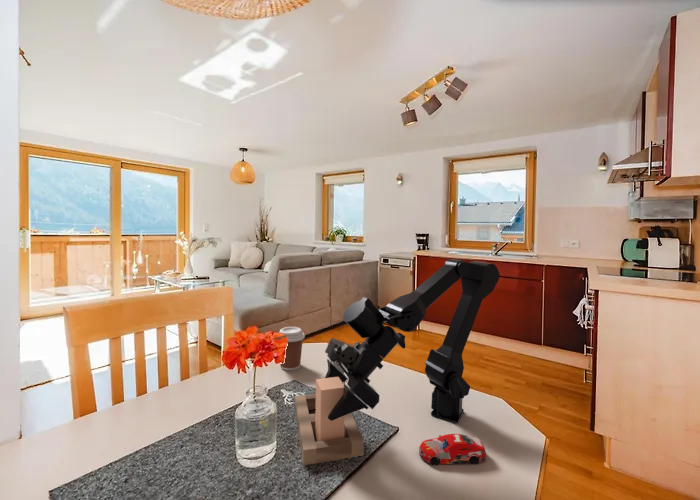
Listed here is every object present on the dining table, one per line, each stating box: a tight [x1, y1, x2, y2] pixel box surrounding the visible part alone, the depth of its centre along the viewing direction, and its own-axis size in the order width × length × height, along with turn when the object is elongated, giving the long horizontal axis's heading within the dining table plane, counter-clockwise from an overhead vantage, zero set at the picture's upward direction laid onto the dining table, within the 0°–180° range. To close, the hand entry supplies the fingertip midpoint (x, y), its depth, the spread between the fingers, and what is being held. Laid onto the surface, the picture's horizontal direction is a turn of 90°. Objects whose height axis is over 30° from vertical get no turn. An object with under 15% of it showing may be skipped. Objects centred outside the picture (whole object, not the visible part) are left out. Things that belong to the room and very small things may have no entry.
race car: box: [418, 433, 487, 466], centre depth 67 cm, size 13×5×4 cm, turn 92°
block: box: [314, 377, 345, 442], centre depth 71 cm, size 5×5×13 cm
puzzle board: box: [294, 393, 365, 466], centre depth 76 cm, size 21×12×3 cm, turn 14°
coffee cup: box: [278, 326, 306, 371], centre depth 109 cm, size 9×9×12 cm
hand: (323, 407), depth 70 cm, fingers open, 9 cm apart
